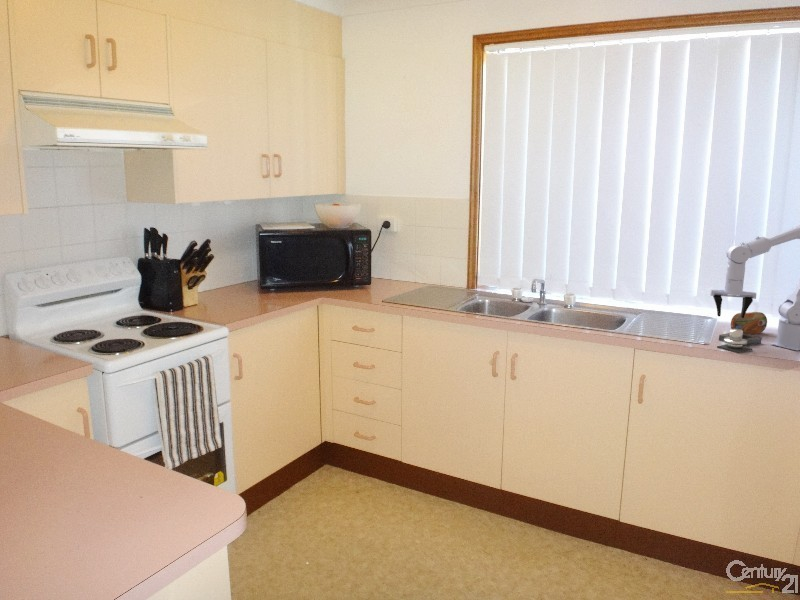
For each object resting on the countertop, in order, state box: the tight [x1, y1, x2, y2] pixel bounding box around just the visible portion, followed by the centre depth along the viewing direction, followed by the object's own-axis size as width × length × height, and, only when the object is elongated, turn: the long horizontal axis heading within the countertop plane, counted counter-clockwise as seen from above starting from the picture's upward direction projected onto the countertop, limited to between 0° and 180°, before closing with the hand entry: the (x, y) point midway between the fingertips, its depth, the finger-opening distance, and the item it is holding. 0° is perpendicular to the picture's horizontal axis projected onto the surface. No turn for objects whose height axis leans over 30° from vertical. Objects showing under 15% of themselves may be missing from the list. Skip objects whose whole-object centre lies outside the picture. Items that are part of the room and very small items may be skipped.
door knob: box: [723, 328, 747, 349], centre depth 227 cm, size 7×7×6 cm
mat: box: [716, 343, 753, 354], centre depth 227 cm, size 8×8×1 cm
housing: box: [718, 332, 763, 347], centre depth 237 cm, size 10×10×2 cm
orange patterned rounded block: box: [730, 311, 768, 335], centre depth 248 cm, size 15×3×8 cm, turn 105°
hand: (730, 316), depth 234 cm, fingers open, 7 cm apart
